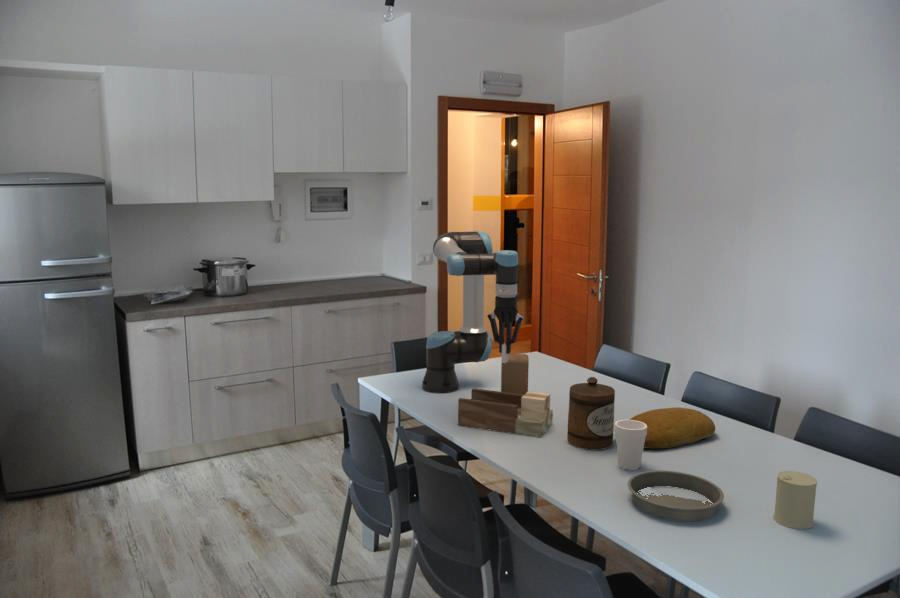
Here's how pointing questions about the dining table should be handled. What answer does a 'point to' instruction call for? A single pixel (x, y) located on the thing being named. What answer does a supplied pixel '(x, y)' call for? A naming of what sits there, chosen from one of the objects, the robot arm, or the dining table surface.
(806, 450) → the dining table surface
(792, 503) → the can
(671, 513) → the cake pan
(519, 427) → the chute
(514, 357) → the wooden block
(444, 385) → the robot arm
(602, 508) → the dining table surface
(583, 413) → the wooden container
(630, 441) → the foam cup
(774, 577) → the dining table surface
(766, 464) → the dining table surface
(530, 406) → the birch block
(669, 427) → the bread
